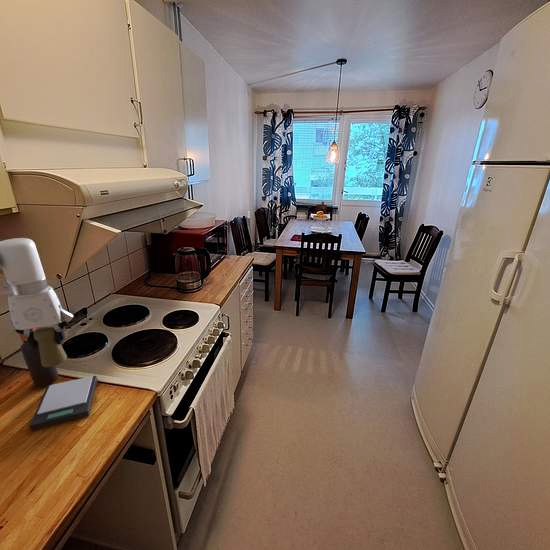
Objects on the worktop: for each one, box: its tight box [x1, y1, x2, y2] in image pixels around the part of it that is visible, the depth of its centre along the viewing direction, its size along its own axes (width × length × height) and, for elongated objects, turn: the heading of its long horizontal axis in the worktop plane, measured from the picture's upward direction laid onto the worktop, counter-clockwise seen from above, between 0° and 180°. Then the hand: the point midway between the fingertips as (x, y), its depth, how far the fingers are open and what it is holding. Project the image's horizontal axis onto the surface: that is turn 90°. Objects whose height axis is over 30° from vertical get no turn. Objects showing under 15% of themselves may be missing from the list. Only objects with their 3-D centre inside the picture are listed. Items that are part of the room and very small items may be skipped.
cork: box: [33, 326, 68, 367], centre depth 81 cm, size 6×6×11 cm
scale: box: [28, 375, 99, 432], centre depth 88 cm, size 14×16×2 cm
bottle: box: [18, 328, 60, 388], centre depth 94 cm, size 7×7×20 cm
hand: (48, 343), depth 81 cm, fingers closed on cork, 5 cm apart
